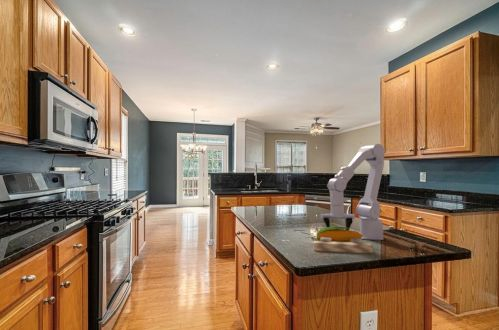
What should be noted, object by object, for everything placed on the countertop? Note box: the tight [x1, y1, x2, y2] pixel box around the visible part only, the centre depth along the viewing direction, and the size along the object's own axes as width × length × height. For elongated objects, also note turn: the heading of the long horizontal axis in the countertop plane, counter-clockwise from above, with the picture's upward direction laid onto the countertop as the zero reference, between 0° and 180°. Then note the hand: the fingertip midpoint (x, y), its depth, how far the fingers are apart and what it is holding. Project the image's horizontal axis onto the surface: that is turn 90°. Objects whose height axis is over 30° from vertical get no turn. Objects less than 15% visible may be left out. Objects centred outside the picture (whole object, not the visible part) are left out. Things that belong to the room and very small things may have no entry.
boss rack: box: [313, 237, 374, 254], centre depth 102 cm, size 22×7×4 cm, turn 78°
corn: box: [316, 226, 363, 242], centre depth 109 cm, size 7×8×20 cm
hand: (337, 234), depth 113 cm, fingers open, 7 cm apart
